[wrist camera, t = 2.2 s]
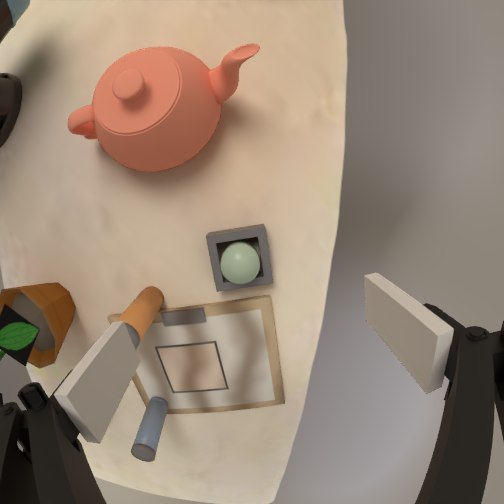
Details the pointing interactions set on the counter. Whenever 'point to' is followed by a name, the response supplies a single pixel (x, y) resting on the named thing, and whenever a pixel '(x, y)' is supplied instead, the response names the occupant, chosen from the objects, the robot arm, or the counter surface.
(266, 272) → the button base
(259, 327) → the clipboard
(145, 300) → the orange marker
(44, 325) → the potted plant
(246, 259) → the button
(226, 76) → the teapot
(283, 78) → the counter surface
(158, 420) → the blue marker
